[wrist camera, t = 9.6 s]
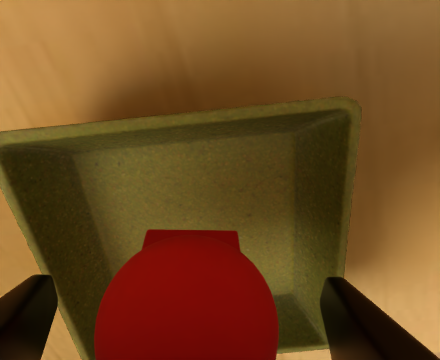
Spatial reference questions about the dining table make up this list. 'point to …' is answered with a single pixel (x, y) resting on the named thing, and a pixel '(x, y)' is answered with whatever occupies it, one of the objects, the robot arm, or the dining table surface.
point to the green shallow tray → (190, 199)
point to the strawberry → (187, 302)
